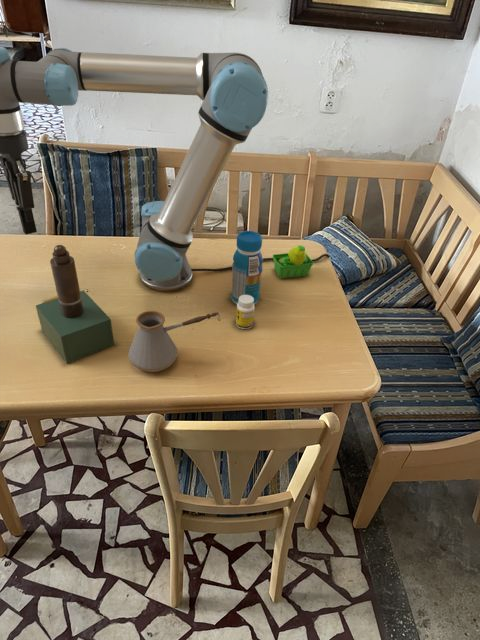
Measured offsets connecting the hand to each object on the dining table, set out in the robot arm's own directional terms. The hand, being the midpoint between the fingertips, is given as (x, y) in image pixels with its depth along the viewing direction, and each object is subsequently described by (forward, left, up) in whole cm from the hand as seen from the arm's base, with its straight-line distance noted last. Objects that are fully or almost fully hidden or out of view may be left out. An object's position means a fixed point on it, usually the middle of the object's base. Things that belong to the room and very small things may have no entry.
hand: (30, 232), depth 119 cm
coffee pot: (-33, +28, -21) cm, 48 cm away
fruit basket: (-71, -11, -21) cm, 75 cm away
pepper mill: (-10, +17, -12) cm, 23 cm away
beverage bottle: (-54, +2, -21) cm, 58 cm away
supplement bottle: (-52, +14, -21) cm, 58 cm away
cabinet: (-10, +17, -20) cm, 28 cm away
